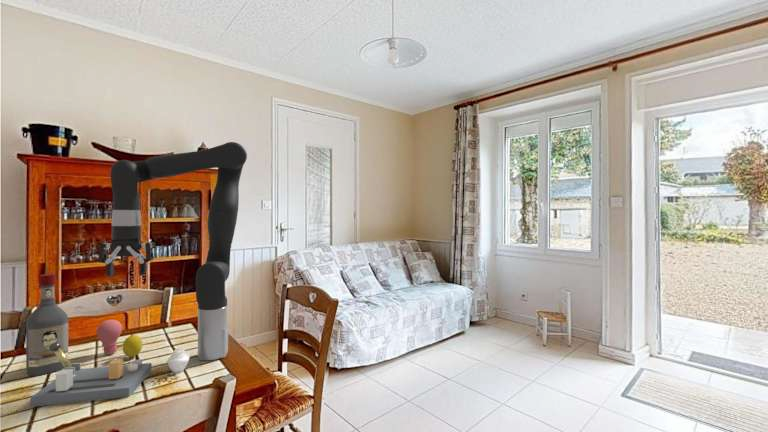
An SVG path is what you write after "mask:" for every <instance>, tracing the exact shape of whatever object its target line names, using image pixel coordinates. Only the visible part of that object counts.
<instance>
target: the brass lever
mask: <svg viewBox="0 0 768 432" xmlns="http://www.w3.org/2000/svg"><path fill="white" fill-rule="evenodd" d="M49 350H50V351H52V352H54V353H55V354H56V356H57V357H58V358H59V360H60V361H61V363H62V364H63V366H64V367H65V368H67V367H73V365H72V364H71V363H72V362H70V359H69V357H68V358H67V357H66V355H65V354H64V352H63V351H62V350H61V344H60V343H58V342H55V343H52V344H51V345H50V346H49Z"/></svg>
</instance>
